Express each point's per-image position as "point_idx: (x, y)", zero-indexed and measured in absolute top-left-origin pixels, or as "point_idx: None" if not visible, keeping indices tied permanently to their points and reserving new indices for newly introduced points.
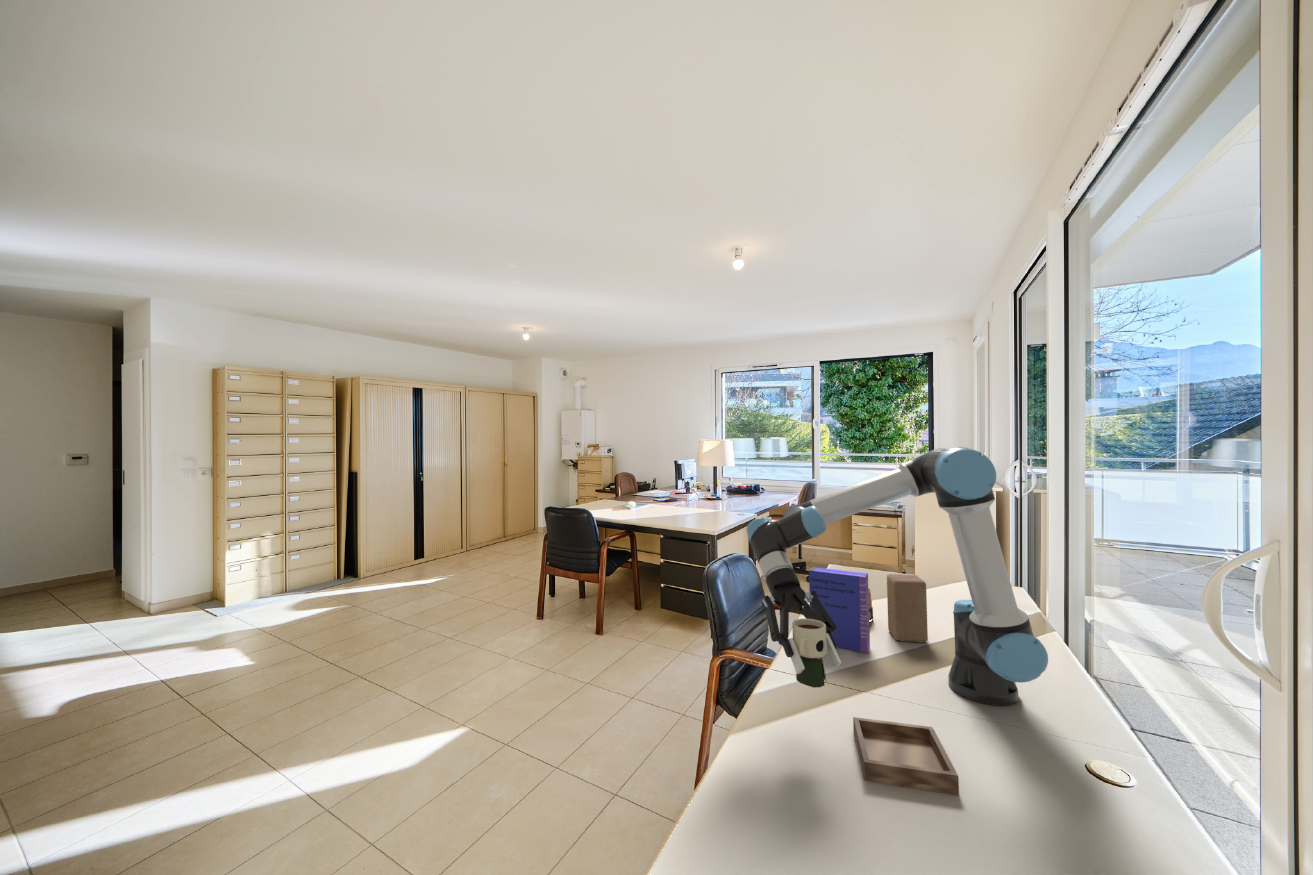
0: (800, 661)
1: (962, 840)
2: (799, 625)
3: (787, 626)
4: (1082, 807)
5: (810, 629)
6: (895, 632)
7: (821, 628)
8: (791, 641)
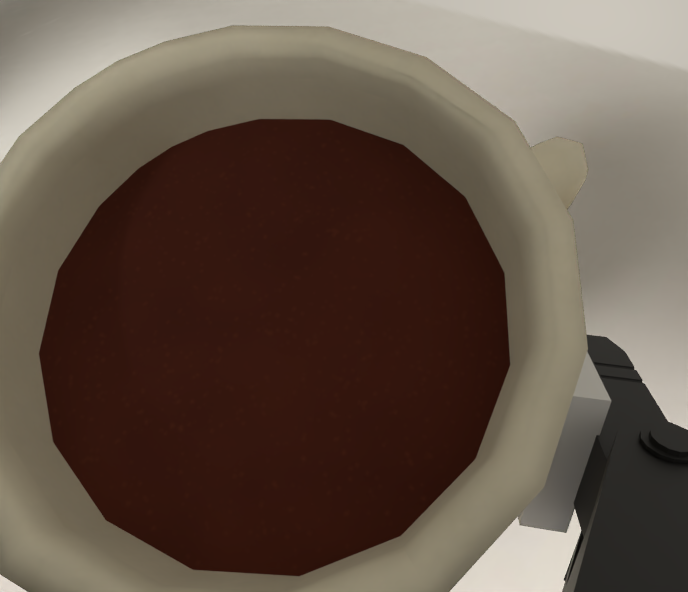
0: None
1: (312, 22)
2: (275, 569)
3: (609, 572)
4: (5, 10)
5: (414, 66)
6: None
7: (219, 38)
8: (587, 369)
